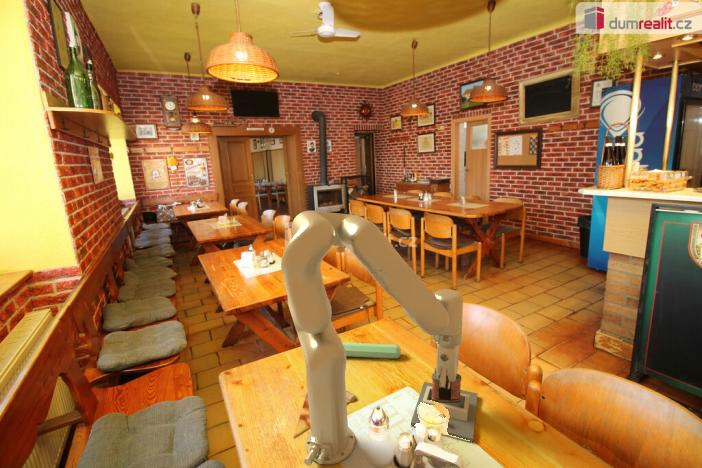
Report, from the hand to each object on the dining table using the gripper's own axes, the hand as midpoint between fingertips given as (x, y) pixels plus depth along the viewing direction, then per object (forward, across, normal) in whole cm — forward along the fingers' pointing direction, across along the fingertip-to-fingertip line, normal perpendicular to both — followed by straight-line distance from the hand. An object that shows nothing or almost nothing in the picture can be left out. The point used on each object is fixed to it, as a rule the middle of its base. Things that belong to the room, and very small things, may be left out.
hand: (446, 392), depth 97 cm
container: (+6, +18, +31) cm, 36 cm away
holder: (+6, 0, 0) cm, 6 cm away
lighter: (+2, 0, 0) cm, 2 cm away
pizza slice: (+7, -10, +38) cm, 40 cm away
